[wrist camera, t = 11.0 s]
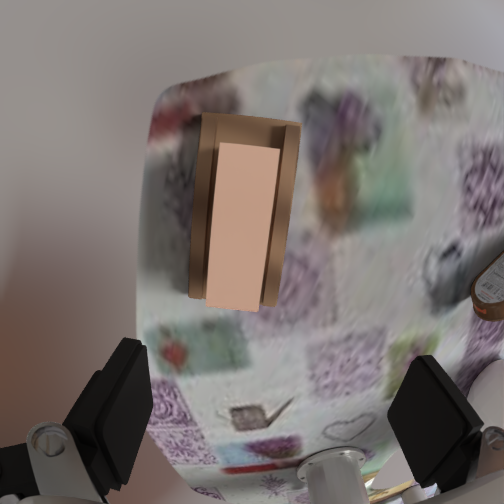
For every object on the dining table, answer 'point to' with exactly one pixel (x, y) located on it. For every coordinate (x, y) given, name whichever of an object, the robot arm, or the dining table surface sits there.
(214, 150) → the rack
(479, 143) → the dining table surface
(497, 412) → the white vase
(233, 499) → the dining table surface
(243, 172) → the block
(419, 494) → the beverage can
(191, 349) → the dining table surface
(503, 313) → the tin
